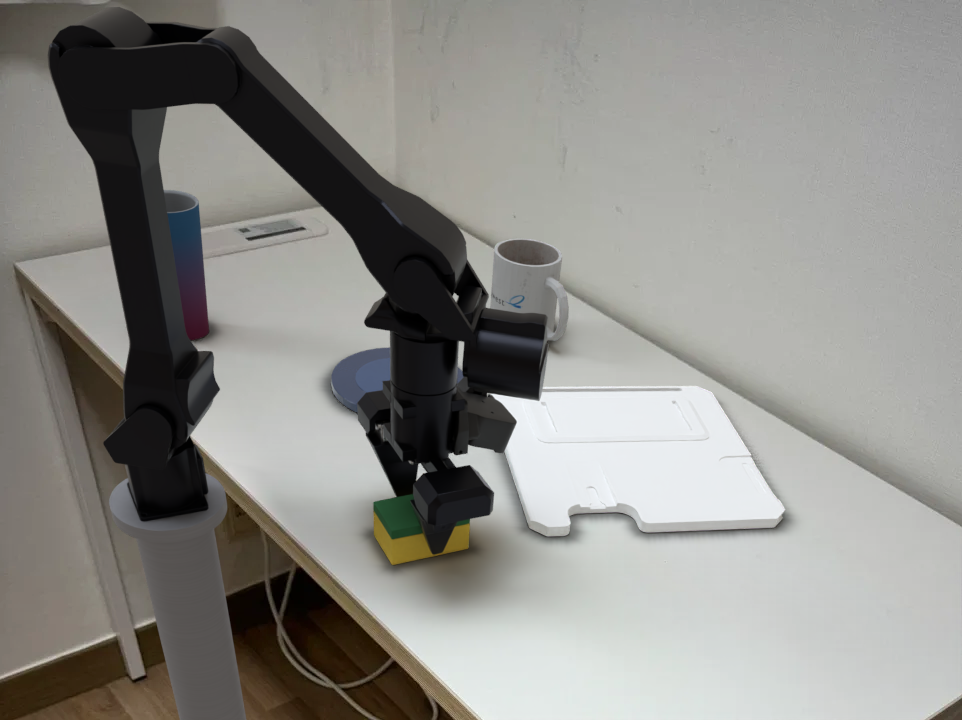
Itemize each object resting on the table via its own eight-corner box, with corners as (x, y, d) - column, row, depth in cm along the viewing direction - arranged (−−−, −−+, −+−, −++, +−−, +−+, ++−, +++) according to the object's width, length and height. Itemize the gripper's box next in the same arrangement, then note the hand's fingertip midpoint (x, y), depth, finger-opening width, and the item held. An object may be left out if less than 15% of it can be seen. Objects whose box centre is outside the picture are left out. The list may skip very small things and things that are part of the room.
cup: (190, 313, 124) (170, 185, 113) (228, 331, 121) (211, 203, 110) (146, 329, 119) (121, 198, 109) (184, 349, 117) (162, 217, 106)
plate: (358, 431, 109) (358, 423, 108) (313, 364, 118) (312, 355, 117) (488, 410, 115) (489, 402, 114) (436, 347, 124) (436, 340, 123)
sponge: (392, 565, 93) (391, 531, 90) (373, 535, 96) (372, 501, 93) (468, 548, 96) (470, 515, 93) (448, 520, 99) (450, 486, 96)
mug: (477, 319, 130) (482, 242, 123) (533, 311, 134) (541, 235, 127) (521, 362, 124) (528, 282, 116) (579, 352, 127) (589, 274, 120)
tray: (787, 527, 104) (791, 515, 103) (532, 537, 98) (533, 524, 97) (705, 394, 123) (708, 383, 122) (486, 396, 117) (487, 384, 116)
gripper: (556, 420, 81) (537, 568, 93) (466, 320, 92) (459, 464, 103) (432, 441, 77) (428, 594, 88) (352, 334, 88) (358, 482, 99)
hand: (421, 529), depth 95 cm, fingers open, 8 cm apart
